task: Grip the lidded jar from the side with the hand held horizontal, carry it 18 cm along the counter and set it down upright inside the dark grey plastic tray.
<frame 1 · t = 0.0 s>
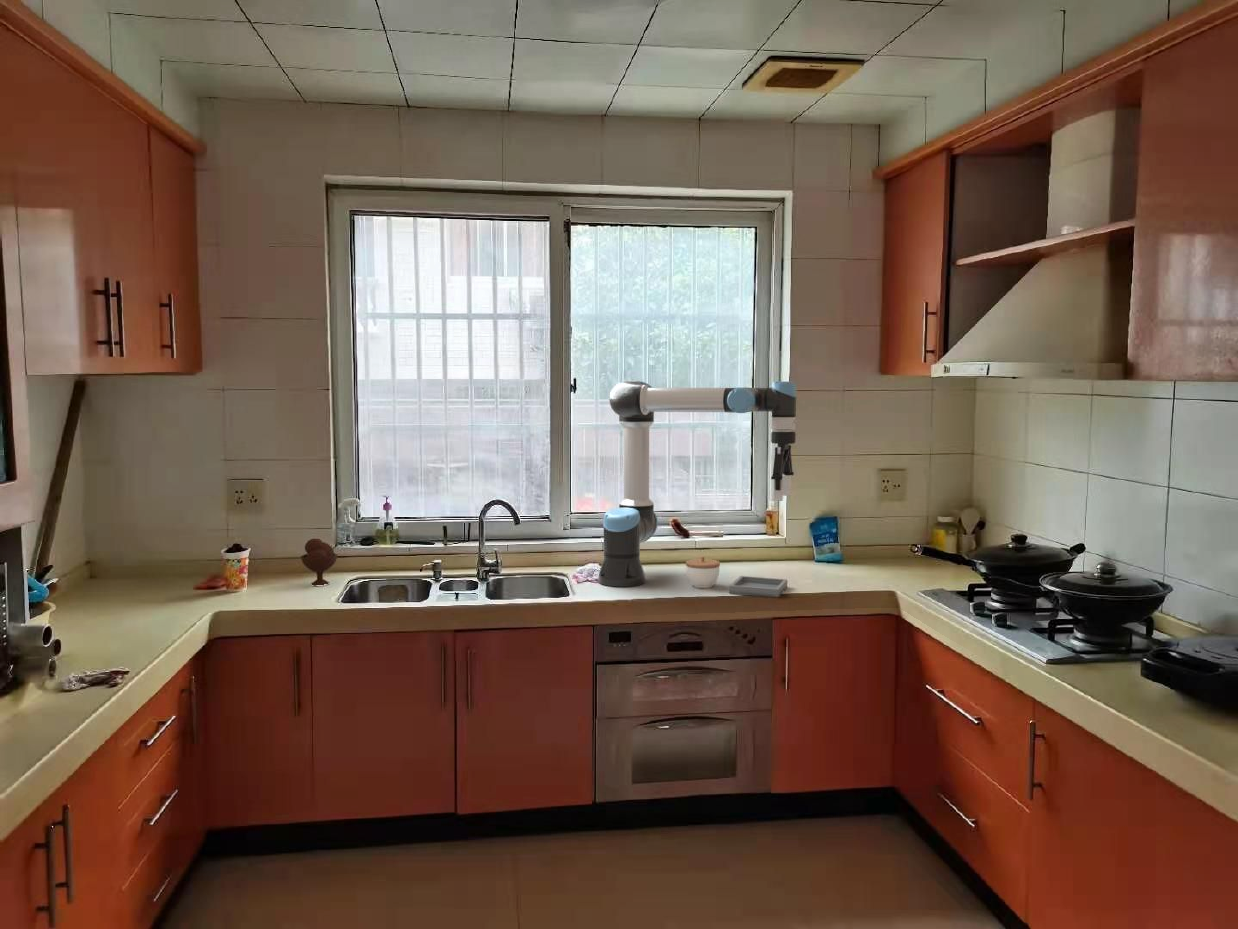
hand: (782, 498, 281), 28 cm above the worktop, tool pointing down, fingers open, 13 cm apart
lidded jar: (702, 586, 283), on the worktop
ice cream bowl: (320, 585, 286), on the worktop
tray: (758, 590, 277), on the worktop
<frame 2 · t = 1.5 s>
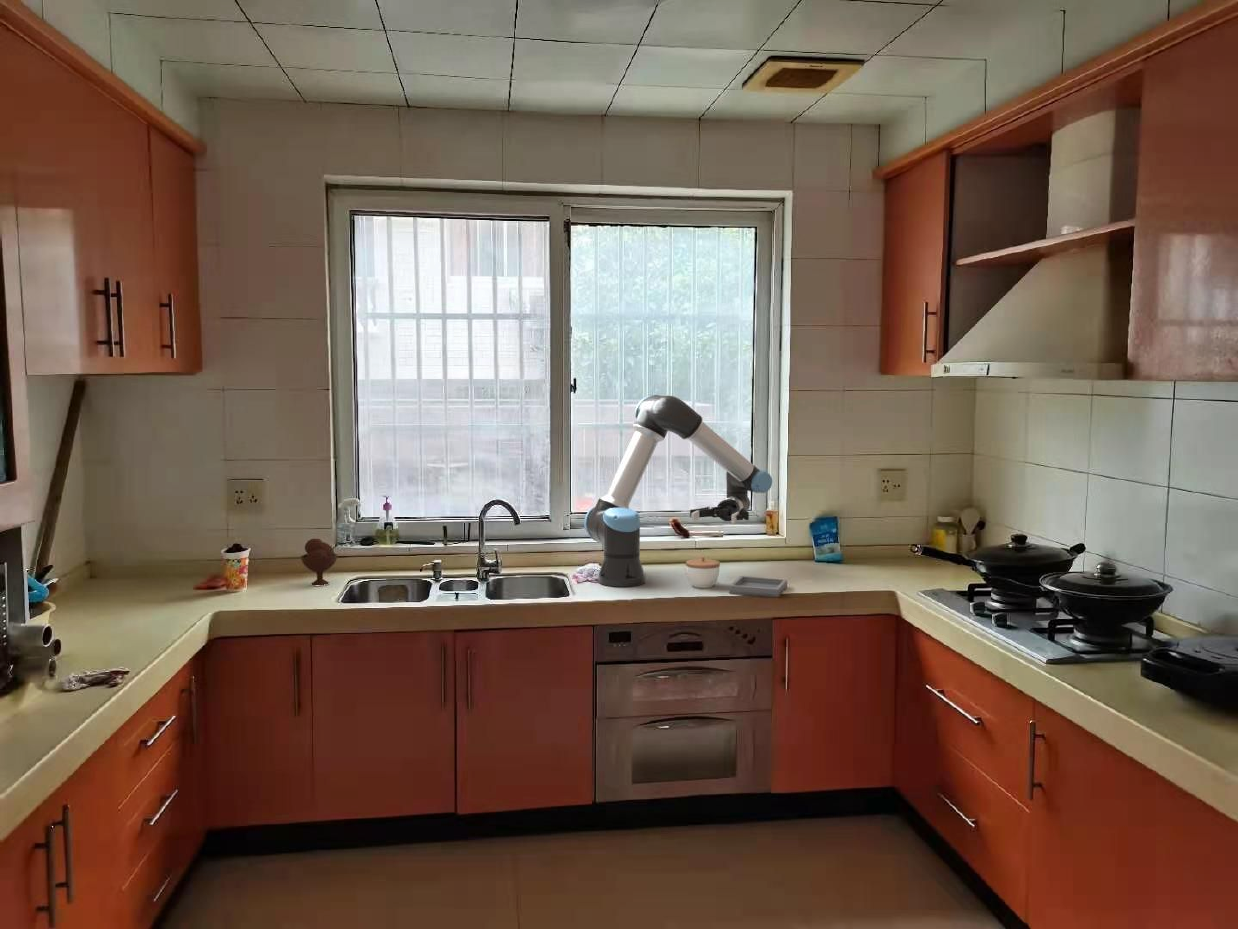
hand: (712, 518, 291), 20 cm above the worktop, tool horizontal, fingers open, 13 cm apart
nothing on the worktop moved.
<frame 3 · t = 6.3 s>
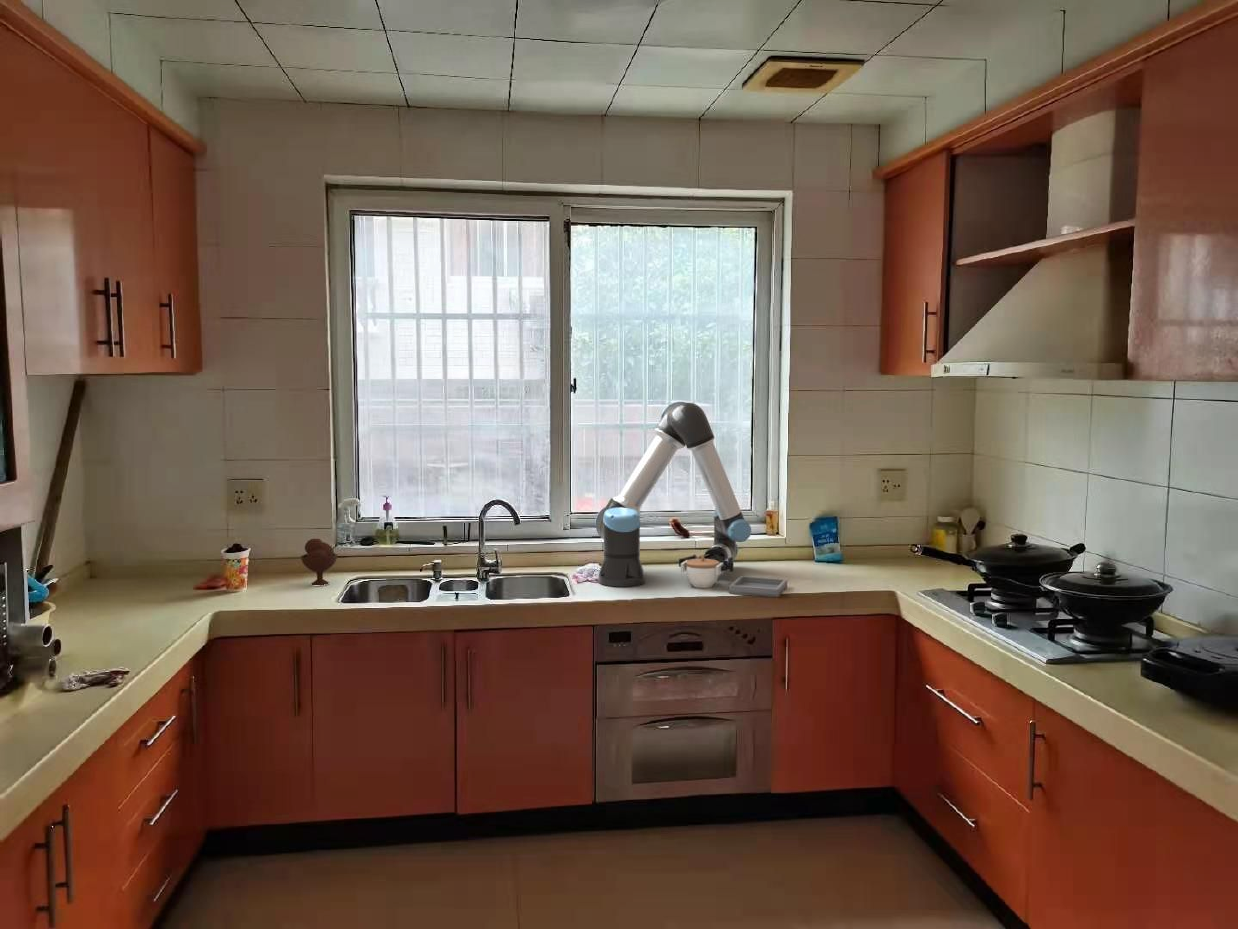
hand: (699, 569, 279), 6 cm above the worktop, tool horizontal, fingers closed on lidded jar, 11 cm apart
lidded jar: (702, 586, 283), on the worktop, touching gripper
everything else where it was.
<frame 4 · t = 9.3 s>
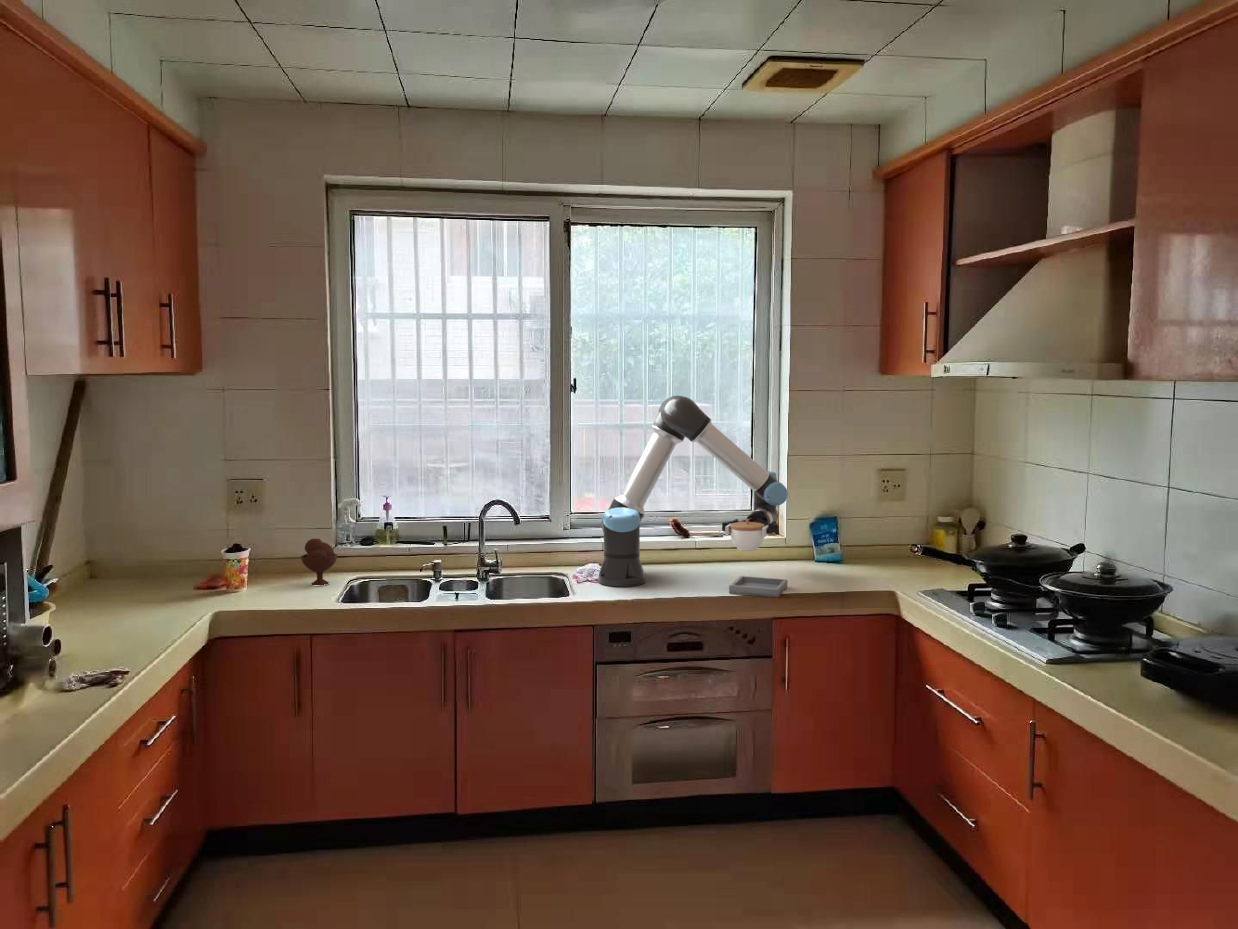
hand: (744, 532, 273), 19 cm above the worktop, tool horizontal, fingers closed on lidded jar, 11 cm apart
lidded jar: (747, 549, 278), point 12 cm above the worktop, touching gripper
everything else where it was.
when the fingers open (8 cm above the worktop, at t = 12.4 s): lidded jar drops 2 cm, resting on tray.
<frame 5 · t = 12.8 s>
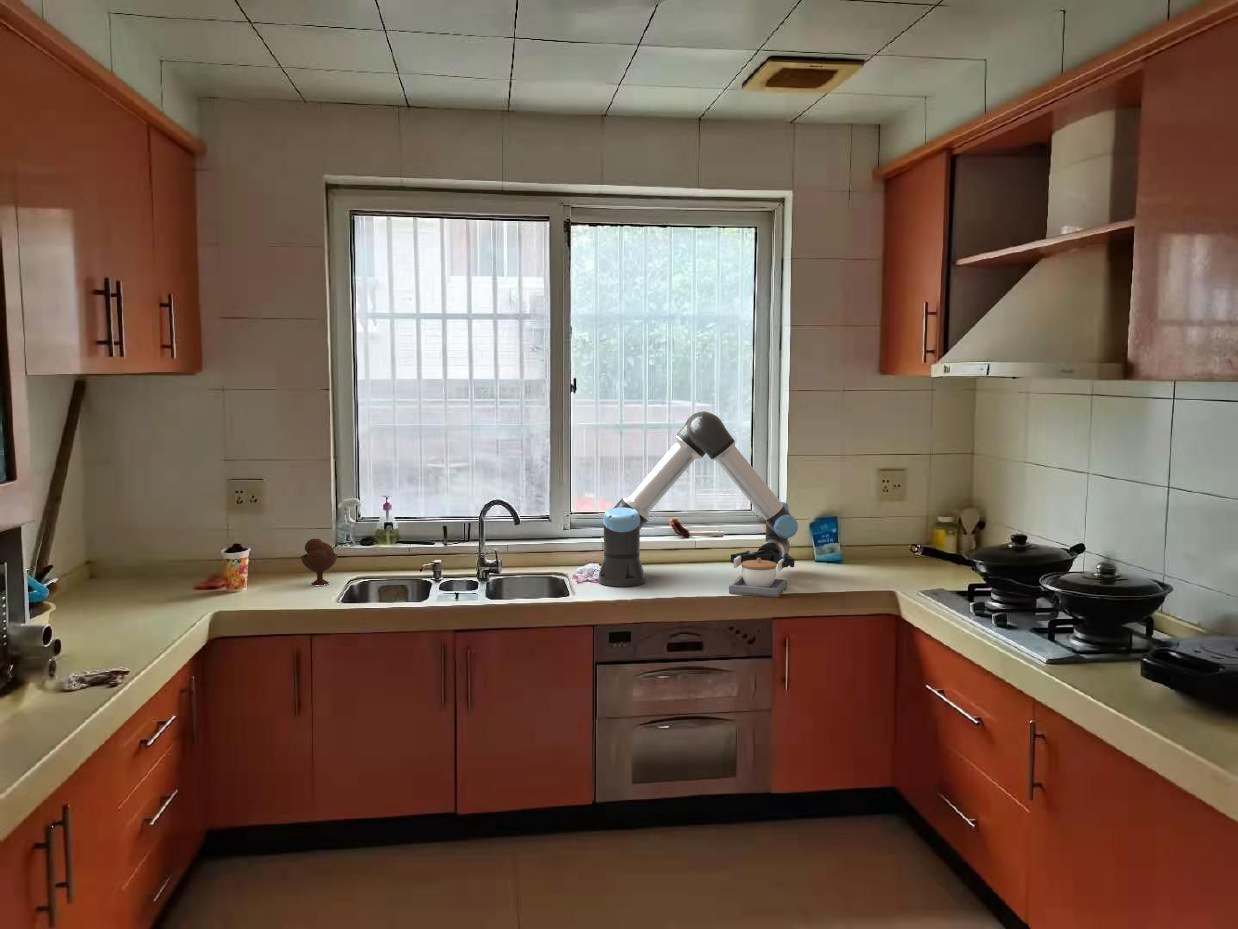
hand: (756, 565, 273), 8 cm above the worktop, tool horizontal, fingers open, 13 cm apart
lidded jar: (758, 588, 277), point 1 cm above the worktop, touching tray
everything else where it was.
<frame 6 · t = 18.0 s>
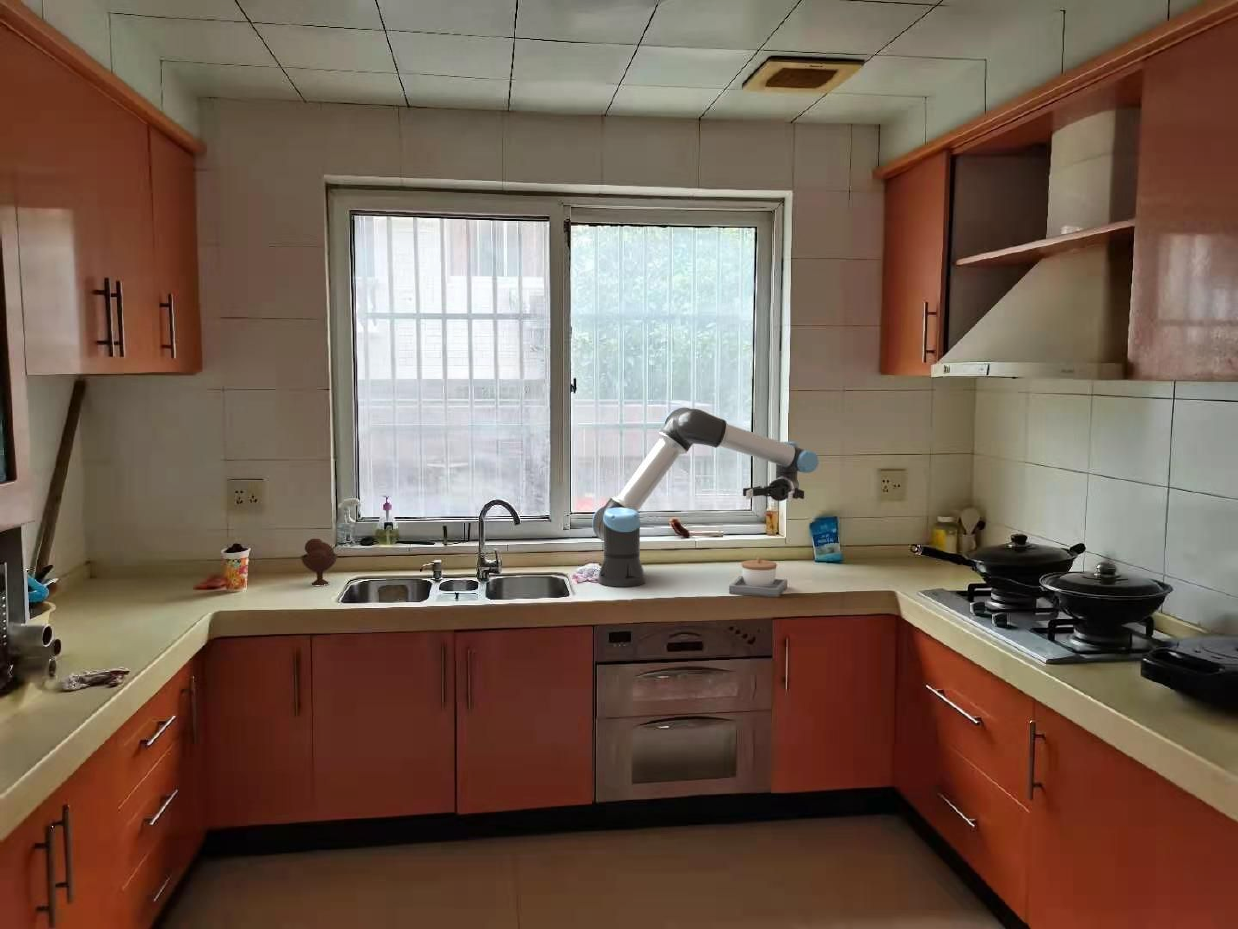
hand: (768, 496, 286), 28 cm above the worktop, tool horizontal, fingers open, 13 cm apart
nothing on the worktop moved.
at the end: lidded jar inside the target area on the tray (0.1 cm from its centre), point 0.6 cm above the tray's base; lidded jar tilted 0°; the gripper is holding nothing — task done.
